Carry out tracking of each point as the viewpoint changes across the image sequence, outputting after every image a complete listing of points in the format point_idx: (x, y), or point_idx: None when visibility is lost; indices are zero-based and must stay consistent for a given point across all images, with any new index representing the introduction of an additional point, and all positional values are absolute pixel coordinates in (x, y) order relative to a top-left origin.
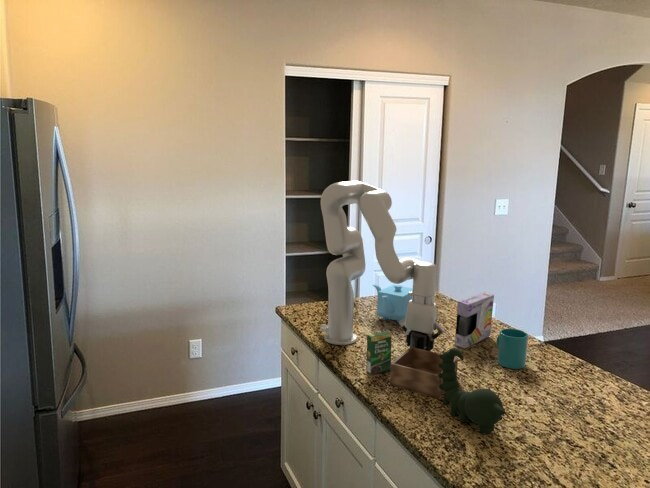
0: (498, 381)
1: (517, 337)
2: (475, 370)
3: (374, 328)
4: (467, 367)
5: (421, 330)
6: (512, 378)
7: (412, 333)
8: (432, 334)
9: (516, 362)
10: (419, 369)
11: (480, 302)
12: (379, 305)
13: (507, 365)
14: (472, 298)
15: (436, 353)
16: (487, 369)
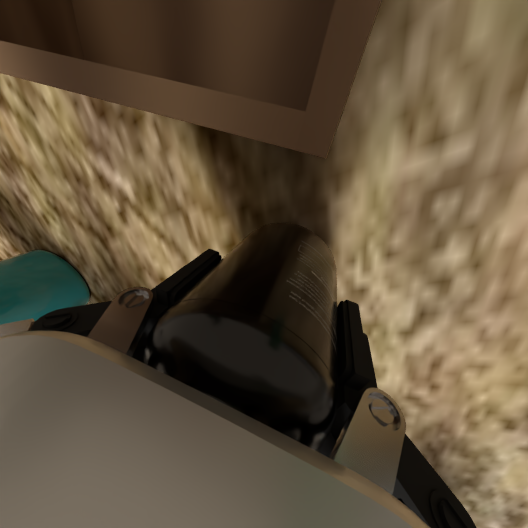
0: (5, 144)
1: None
2: (93, 213)
3: (466, 474)
4: (120, 230)
5: (120, 408)
6: (6, 187)
7: (311, 385)
8: (132, 357)
9: (10, 257)
10: (261, 89)
11: None
12: None
13: (42, 254)
14: None
15: (35, 59)
16: (77, 232)
